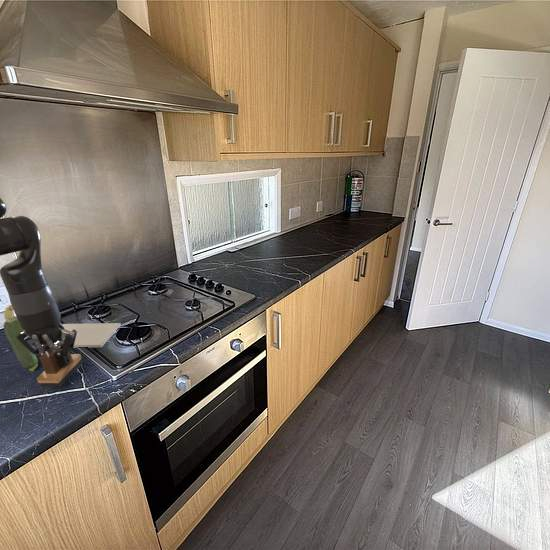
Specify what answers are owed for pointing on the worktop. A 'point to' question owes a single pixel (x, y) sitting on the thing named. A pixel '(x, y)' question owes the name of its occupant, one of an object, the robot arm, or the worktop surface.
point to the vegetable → (12, 331)
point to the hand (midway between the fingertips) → (59, 365)
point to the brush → (57, 369)
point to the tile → (92, 333)
